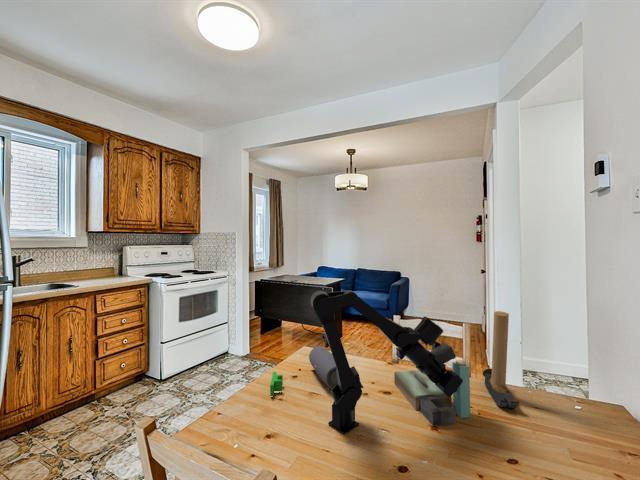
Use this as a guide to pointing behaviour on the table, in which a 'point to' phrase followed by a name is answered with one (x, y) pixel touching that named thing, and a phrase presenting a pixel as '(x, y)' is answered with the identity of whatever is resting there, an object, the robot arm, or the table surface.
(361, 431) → the table surface
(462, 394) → the teal rectangular block
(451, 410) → the toolbox
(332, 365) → the bluetooth speaker
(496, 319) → the hammer
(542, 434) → the table surface
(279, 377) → the pipe clamp
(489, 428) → the table surface
